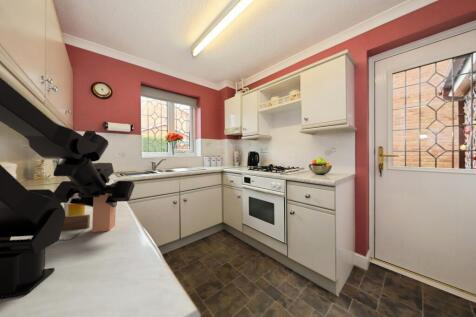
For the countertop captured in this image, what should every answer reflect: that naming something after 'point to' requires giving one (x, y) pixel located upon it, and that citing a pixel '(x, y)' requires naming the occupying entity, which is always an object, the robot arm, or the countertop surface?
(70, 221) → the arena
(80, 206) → the supplement bottle
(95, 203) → the terracotta block
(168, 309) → the countertop surface
